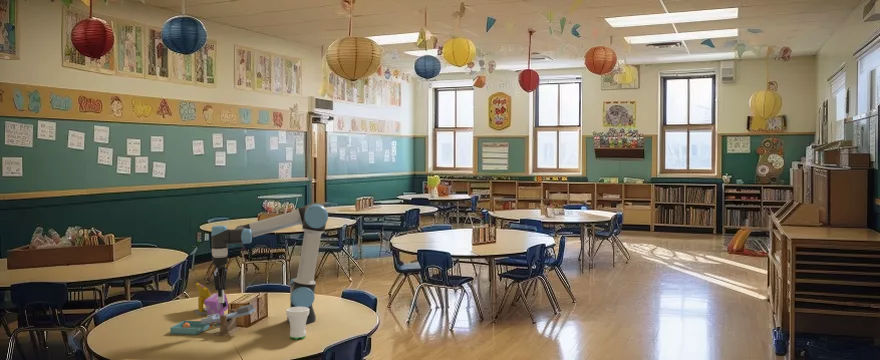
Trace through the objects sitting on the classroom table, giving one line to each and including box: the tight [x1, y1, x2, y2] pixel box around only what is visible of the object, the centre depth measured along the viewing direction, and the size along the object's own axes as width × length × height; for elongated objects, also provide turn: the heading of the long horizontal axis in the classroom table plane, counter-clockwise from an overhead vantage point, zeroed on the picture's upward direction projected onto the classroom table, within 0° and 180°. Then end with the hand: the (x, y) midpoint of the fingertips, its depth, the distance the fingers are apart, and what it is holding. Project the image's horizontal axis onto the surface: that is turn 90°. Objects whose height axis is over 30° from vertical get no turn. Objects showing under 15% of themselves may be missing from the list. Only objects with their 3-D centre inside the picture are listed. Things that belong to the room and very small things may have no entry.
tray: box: [169, 320, 211, 336], centre depth 348 cm, size 14×14×3 cm
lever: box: [200, 303, 256, 325], centre depth 346 cm, size 26×10×4 cm, turn 84°
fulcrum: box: [215, 308, 241, 337], centre depth 346 cm, size 7×14×10 cm, turn 175°
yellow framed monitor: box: [193, 282, 212, 316], centre depth 385 cm, size 20×8×16 cm, turn 34°
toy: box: [204, 292, 230, 324], centre depth 365 cm, size 11×8×15 cm
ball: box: [183, 323, 190, 328], centre depth 348 cm, size 4×4×4 cm
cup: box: [285, 307, 309, 340], centre depth 336 cm, size 11×11×14 cm
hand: (221, 302), depth 346 cm, fingers closed
